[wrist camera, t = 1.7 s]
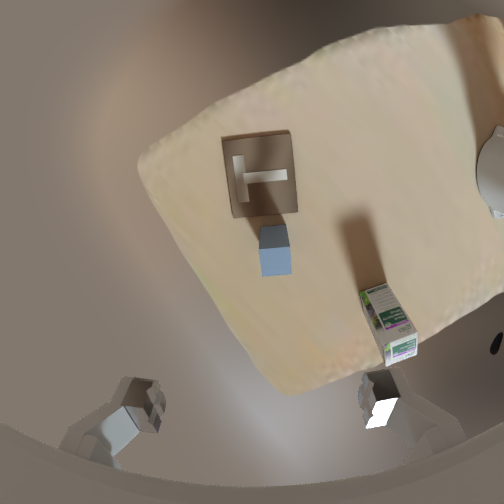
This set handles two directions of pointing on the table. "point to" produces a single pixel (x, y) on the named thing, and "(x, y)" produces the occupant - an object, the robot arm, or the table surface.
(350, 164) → the table surface
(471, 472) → the robot arm
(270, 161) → the letter card
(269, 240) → the slate block
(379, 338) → the syrup box
